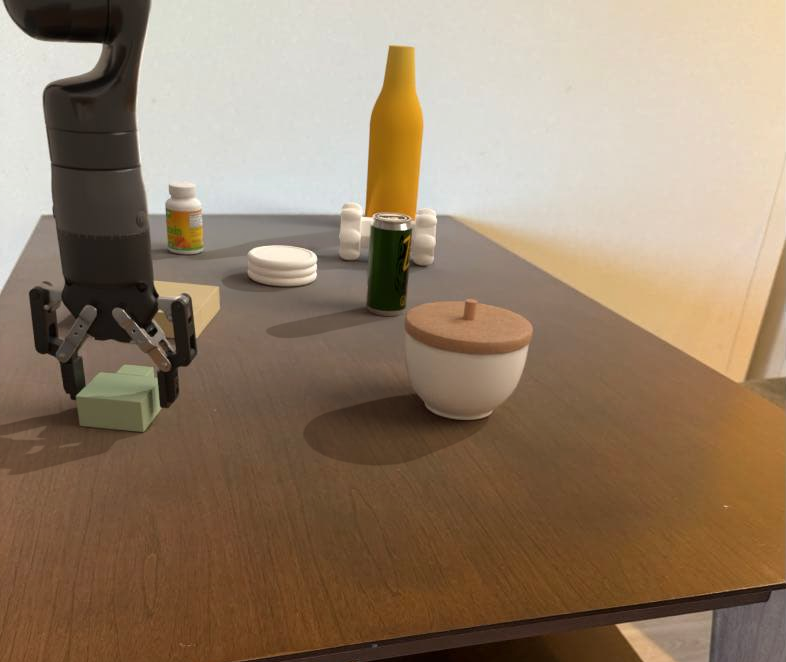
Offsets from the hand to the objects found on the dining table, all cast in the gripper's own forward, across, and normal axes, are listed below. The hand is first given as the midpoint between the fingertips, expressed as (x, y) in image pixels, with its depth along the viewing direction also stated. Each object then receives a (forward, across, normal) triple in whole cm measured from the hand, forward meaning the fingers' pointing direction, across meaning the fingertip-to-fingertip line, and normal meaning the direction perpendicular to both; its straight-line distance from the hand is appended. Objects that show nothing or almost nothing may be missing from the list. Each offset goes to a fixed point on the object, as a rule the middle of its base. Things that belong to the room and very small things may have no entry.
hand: (122, 401), depth 80 cm
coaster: (+2, -6, -51) cm, 51 cm away
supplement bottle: (+2, +11, -61) cm, 62 cm away
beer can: (+2, -22, -40) cm, 46 cm away
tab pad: (+2, 0, -1) cm, 2 cm away
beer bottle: (+2, -19, -87) cm, 89 cm away
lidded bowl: (+2, -32, -10) cm, 33 cm away
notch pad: (+1, +6, -28) cm, 29 cm away
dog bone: (+2, -20, -66) cm, 69 cm away
